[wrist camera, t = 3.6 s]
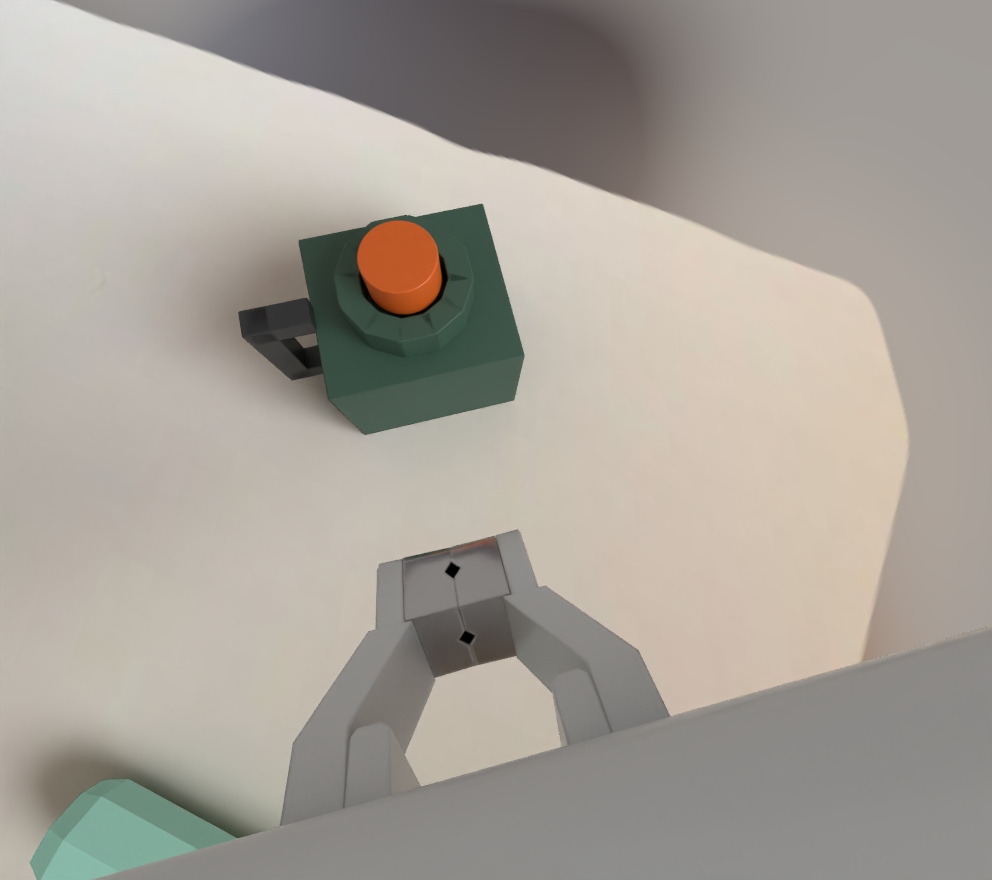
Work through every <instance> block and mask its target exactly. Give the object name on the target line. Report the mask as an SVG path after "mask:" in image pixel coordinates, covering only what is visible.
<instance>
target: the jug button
mask: <svg viewBox="0 0 992 880" xmlns="http://www.w3.org/2000/svg"><path fill="white" fill-rule="evenodd" d="M357 264H358V268H359V271H360V273H361V275H362V277H363V280H364V282H365V284H366V287H367V289H368V291H369V293H370V295H371V297H372V299H373V300H374V301H375V303H376V304H377V305H379V306H380V307H381V308H383V309H384V310H386V311H389V312H391V313H395V314H413V313H416V312H419V311H421V310H423V309H425V308H426V307H428V306H429V305H430V304H431V303H432V302H433V301H434V300H435V299H436V297H437V296H438V294H439V291H440V289H441V284H442V275H441V269H440V262H439V255H438V249H437V246H436V243H435V241H434V239H433V238H432V236H431V235H430V234H429V233H428V232H427V231H426V230H425V229H424V228H422V227H420V226H419V225H417V224H415V223H412V222H408V221H401V220H397V221H389V222H385V223H382V224H380V225H378V226H376V227H374V228H373V229H371V230H370V231H369V232H368V233H367V234H366V235H365V237H364V238H363V239H362V241H361V243H360V245H359V248H358V253H357Z"/></svg>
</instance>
